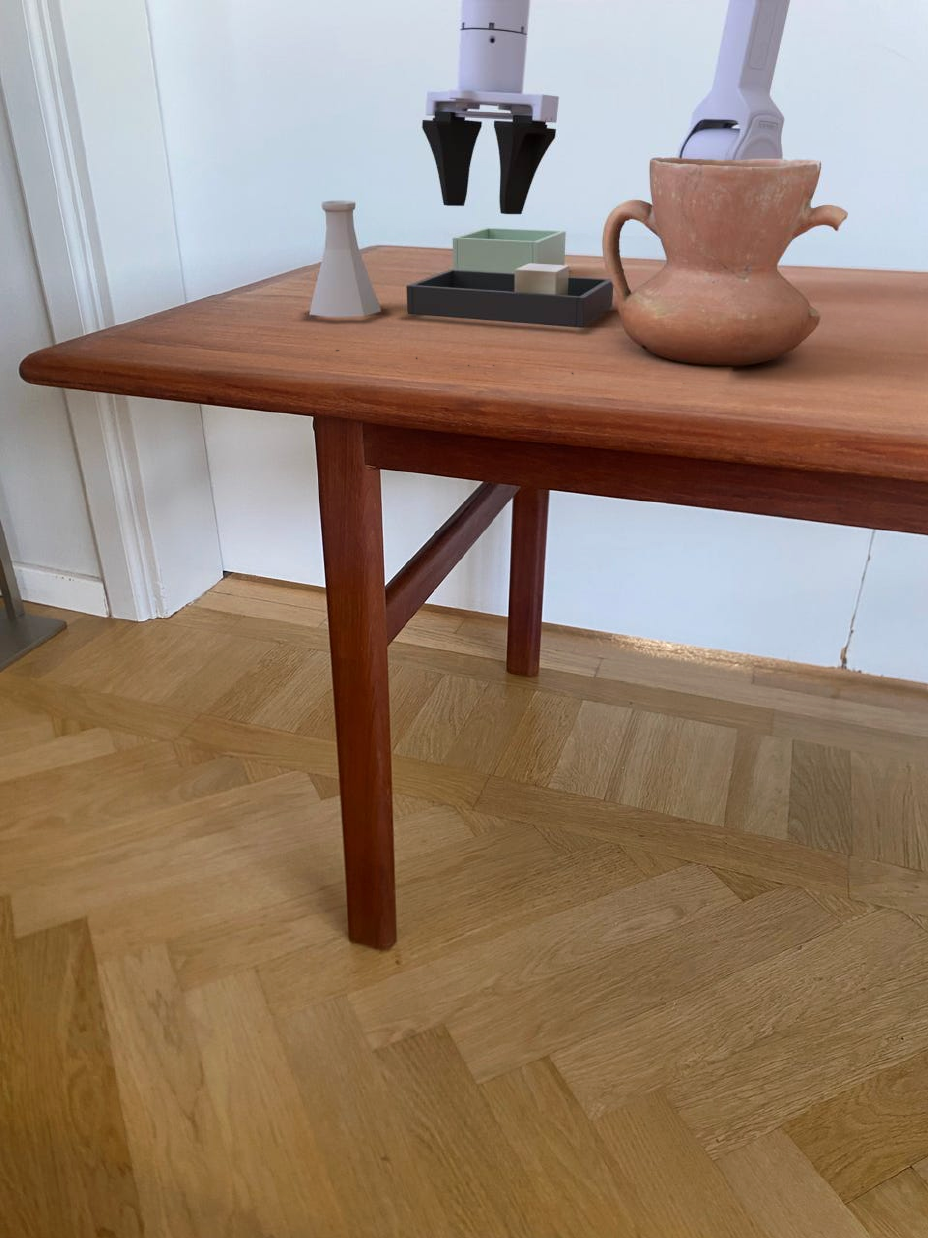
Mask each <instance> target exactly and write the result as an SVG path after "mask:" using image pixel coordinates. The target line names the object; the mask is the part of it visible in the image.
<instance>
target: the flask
mask: <svg viewBox="0 0 928 1238" xmlns="http://www.w3.org/2000/svg"><path fill="white" fill-rule="evenodd" d="M321 208H322V211H324V214H325V228H326V230H325V240H324V249H323V254H322V258H321V264H320V267H319V271H318V277H317V281H316V283H315V284H316V285H315V288H314V292H313V295H312V296H313V297H312V300H311V305H310V309H309V316H318V317H327V318H361V317H363V318H364V317H367V316H371V315H373V314H376V313H380V312H382V308H381V305H380V302H379V299H378V296H377V294H376V292H375V289H374V286H373V283H372V281H371V279H370V276H369V273H368V271H367V267H366V265H365V262H364V258H363V256H362V253H361V250H360V248H359V244H358V239H357V234H356V230H355V225H354V224H355V223H354V210H356V201H354V200H326V201H322V202H321Z"/></svg>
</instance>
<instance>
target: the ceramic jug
mask: <svg viewBox="0 0 928 1238" xmlns="http://www.w3.org/2000/svg"><path fill="white" fill-rule="evenodd" d="M648 171H649V172H648V173H649V190H650V197H651V198H650V199H651V203H650V202H648V201H644V200H642V199H631V200H627V201H624V202H622V203H620V204H618V205H616V206H615V207H614V208H613V209H612V210H611V212H610V213H609V215H608V216H607V217H606V220H605V223H604V226H603V232H602V238H601V239H602V240H601V241H602V242H601V243H602V245H601V247H602V256H603V261H604V266H605V269H606V272H607V274H608V277H609V279H610V280H611V282H612V284H613V290H614V291H615V294H616V298H617V303H616V304H617V311H618V314H619V316H620V318H621V323H622V327H623V329H624V332H625V333H626V335H627V336H628V337H629V338H630V339H631V341H632V342H633V343H635V344H636V345H638V346H639V347H640V348H642V349H644V350H645V351H648V352H650V353H651V354H653V355H655V356H658V357H661V358H664V359H667V360H670V361H674V362H679V363H684V364H689V365H700V366H711V367H712V366H713V367H714V366H715V367H743V366H750V365H755V364H760V363H764V362H767V361H771V360H774V359H777V358H780V357H783V356H784V355H786V354H788V353H790V352H791V351H793V350H795V349H796V348H797V347H798V346H799V345H801V344H802V343H803V342H804V341H805V340H807V338H808V337H809V336H810V335H811V334H812V333H813V332H814V331H815V330H817V329H816V328H817V327H818V326H819V323H820V320H821V317H822V314H821V313H820V312H819V311H818V310H817V309H816V308H815V307H812V306H811V304H810V302H809V299H808V298H806V296H804V294H803V293H802V292H801V291H800V290H799V289H797V288H796V286H794V285H793V284H792V283H791V282H790V281H788V280H787V278H786V277H785V276H784V275H783V274H782V273H780V271H779V270H778V264H779V262H780V261H781V259H782V257H783V256H784V254H785V252H786V251H787V249H788V247H789V245H790V244H791V243H792V242H793V241H794V240H795V239H796V238H798V237H799V236H801V235H803V234H805V233H807V232H808V231H810V230H812V229H813V228H815V227H820V226H827V227H830V228H833V230H834V231H835V232H838V231H839V229H840V226H841V225H842V223H843V222H844V221H845V220H847V218H848V215H849V212H848V211H847V210H845V209H844V208H842V207H840V206H837V205H833V204H823V205H819V206H815V207H812V206H811V203H812V200H813V196H815V195H814V194H815V192H816V189H817V187H818V183H819V179H820V176H821V171H822V161H820V160H815V159H799V158H798V159H797V158H796V159H790V160H788V159H784V158H782V159H747V160H738V161H736V160H731V159H729V160H713V159H687V158H676V157H660V156H659V157H652V158H651V159H650V160H649V170H648ZM630 220H634V221H637V222H640V223H641V224H643V225H644V226H645V227H646V228H647V229H648V230H649V231H651V232H652V233H653V234H654V235H655V236H657V237H658V238H659V240H660V243H661V247H662V249H663V252H664V255H665V260H666V263H665V265H664V266H663V267H662V268H661V269H660V270H659V271H658V272H657V273H655V275H653V276H652V277H651V278H649V279H648V280H647V281H645V282H644V283H642V284H641V285H640V286H639V285H638V287H637V288H636V289H634V290H633V291H632V290H631V288H630V287H629V284H628V280H627V278H626V276H625V269H624V268H623V264H622V260H621V251H620V239H621V232H622V229H623V227H624V226H625V223H626V222H628V221H630Z"/></svg>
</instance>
